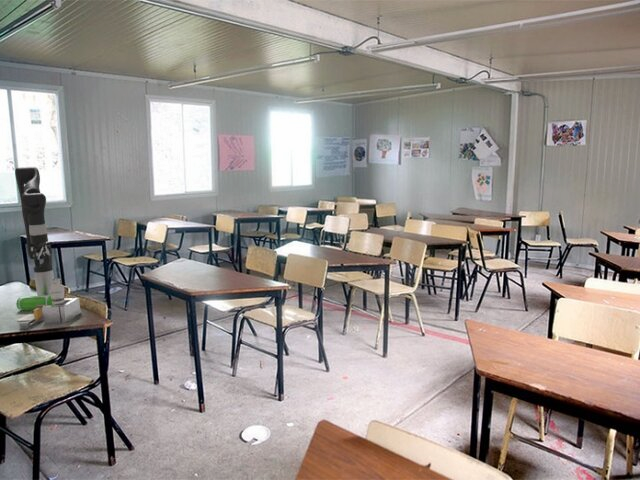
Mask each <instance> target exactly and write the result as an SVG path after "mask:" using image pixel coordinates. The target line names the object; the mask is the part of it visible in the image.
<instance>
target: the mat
mask: <svg viewBox="0 0 640 480" xmlns="http://www.w3.org/2000/svg"><path fill="white" fill-rule="evenodd" d="M32 319H34V313H29V314H26V315H24V316H22V317H20V318H18V319H16V322H18V323H22V322H29V321H30V320H32Z"/></svg>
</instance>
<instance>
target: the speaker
mask: <svg viewBox="0 0 640 480" xmlns="http://www.w3.org/2000/svg"><path fill="white" fill-rule="evenodd" d="M37 305H46V306H51V305H53V304H52V298H51V296H50V295H45V296H37V295H28V296H27V295H26V296H21V297H18V298H17V300H16V307H17V309H18V310H20V311H31V312H32V311H33V310H34V309H36V306H37Z"/></svg>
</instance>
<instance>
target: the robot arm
mask: <svg viewBox="0 0 640 480" xmlns="http://www.w3.org/2000/svg"><path fill="white" fill-rule="evenodd" d="M14 175H15V180H16V184H17V188H18V194H19V197H20V198H19V200H20V204H21V213H22V218H23V219H22V220H23V223H24V229H25V235H26V236H25V237H26V247H27V255H28V257H29V259H30V260H33V261H34V267H33V274H34V281H35V288H36V296H45V295H50V288H51V286H52V283H51V280H52V279H55V277H54V269H53V255H52V254H53V252H52V251H53V250H52V245H51V242H49V238H48V231H47V230H48V228H47V225H46V219H45V208H46V205H47V204H46V203H47V197H46V195H45V194H44V193H41V189H40V184H41V175H40V171H39V169H38V168H37V167H36V166H18V167H16V168H15V169H14ZM41 260H43V261H42V262H41ZM50 296H51V295H50Z"/></svg>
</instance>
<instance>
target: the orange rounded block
mask: <svg viewBox="0 0 640 480" xmlns="http://www.w3.org/2000/svg"><path fill="white" fill-rule="evenodd" d="M44 306H46V305H37V306H36V309H34V310H32V311H33V314H34V318H35V321H36V320H38V319H40V318H41V317H43V311H42V307H44Z"/></svg>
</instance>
